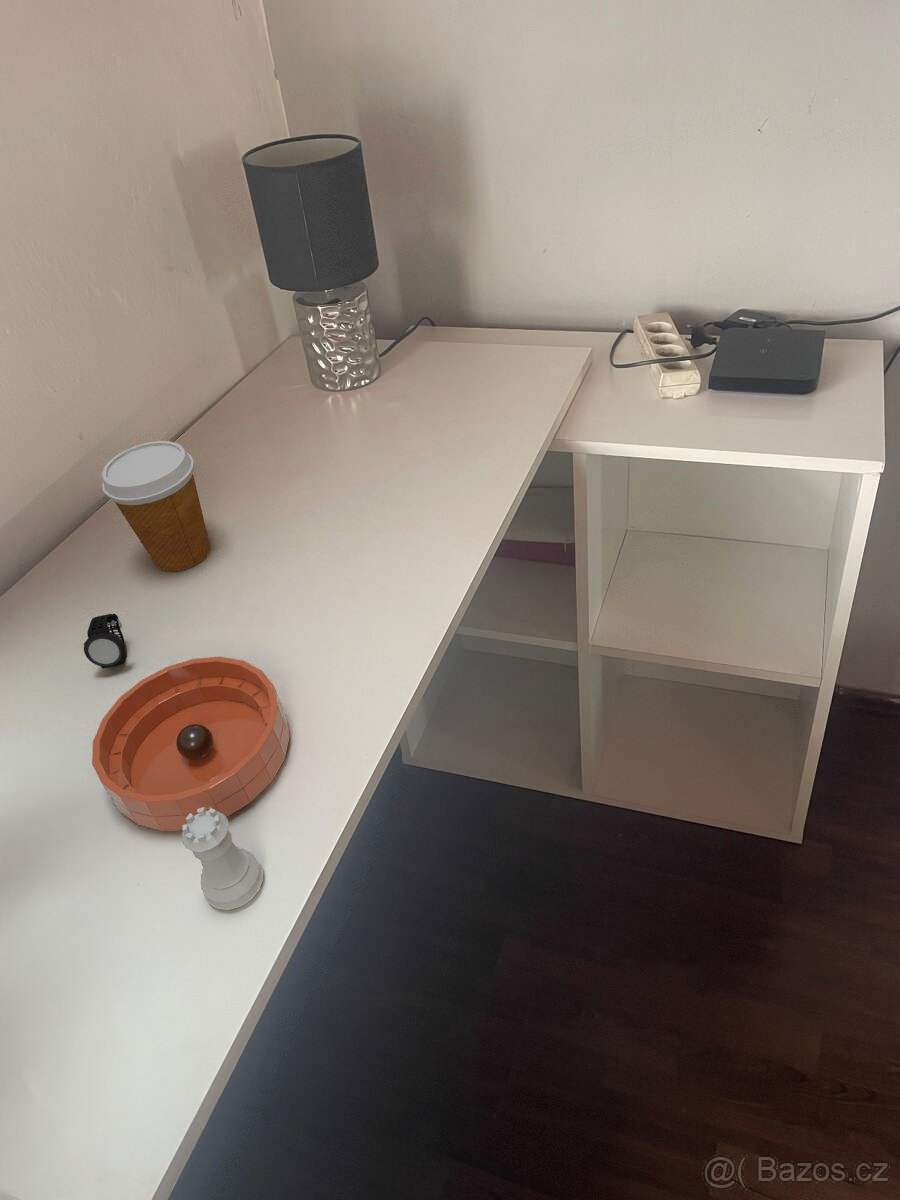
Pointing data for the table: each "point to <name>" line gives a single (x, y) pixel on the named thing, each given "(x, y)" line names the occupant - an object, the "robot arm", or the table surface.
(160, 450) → the disposable coffee cup
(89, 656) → the smartwatch
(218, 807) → the bowl
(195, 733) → the bead
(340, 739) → the table surface
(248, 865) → the rook chess piece
